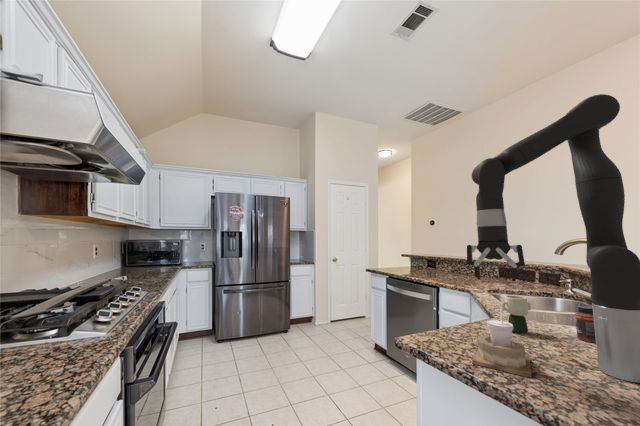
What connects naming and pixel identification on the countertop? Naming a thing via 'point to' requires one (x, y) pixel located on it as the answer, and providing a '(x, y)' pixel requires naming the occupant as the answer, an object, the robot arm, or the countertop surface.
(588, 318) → the supplement bottle
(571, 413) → the countertop surface
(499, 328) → the smoothie
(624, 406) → the countertop surface
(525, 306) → the character mug
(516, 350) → the bottle holder
